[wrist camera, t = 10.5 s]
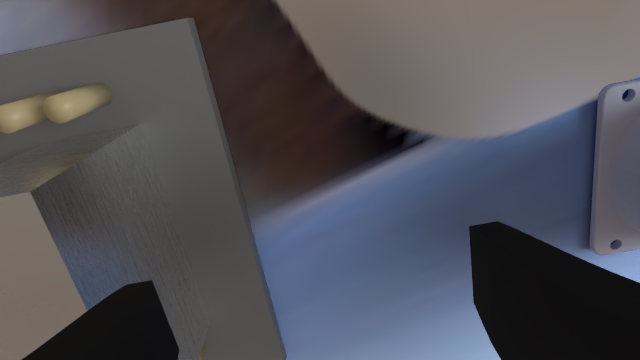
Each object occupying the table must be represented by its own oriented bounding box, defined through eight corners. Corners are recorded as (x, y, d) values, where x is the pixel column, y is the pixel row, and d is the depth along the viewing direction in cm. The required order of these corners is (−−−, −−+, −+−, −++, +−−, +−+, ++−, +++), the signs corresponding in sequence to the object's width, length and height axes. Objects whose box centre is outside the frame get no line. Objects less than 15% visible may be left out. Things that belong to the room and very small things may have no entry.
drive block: (140, 124, 17) (30, 191, 10) (210, 321, 20) (162, 466, 14) (45, 142, 17) (-122, 220, 10) (131, 335, 20) (46, 483, 14)
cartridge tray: (193, 17, 16) (159, 17, 12) (286, 355, 22) (281, 420, 19) (-51, 66, 16) (-150, 80, 13) (105, 384, 23) (67, 452, 19)
